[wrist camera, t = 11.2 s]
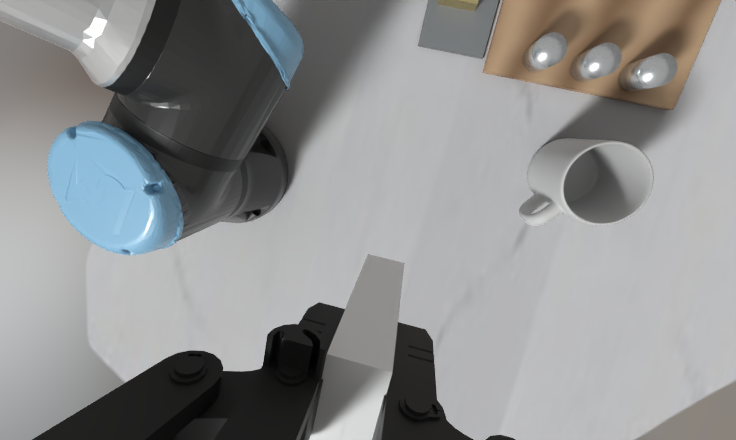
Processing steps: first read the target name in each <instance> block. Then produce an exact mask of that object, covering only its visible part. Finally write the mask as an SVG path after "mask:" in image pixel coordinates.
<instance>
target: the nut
mask: <svg viewBox="0 0 736 440" xmlns="http://www.w3.org/2000/svg"><path fill="white" fill-rule="evenodd" d="M478 1H479V0H438V5H442V6H447V7H453V8H458V9H463V10H469V11H475V9H476V7H477V5H478Z"/></svg>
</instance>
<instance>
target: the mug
mask: <svg viewBox="0 0 736 440" xmlns="http://www.w3.org/2000/svg"><path fill="white" fill-rule="evenodd" d="M653 180H654V176H653V169H652V165H651V163H650V161H649V159H648V158H647V156H646V155H645V154H644V153H643V152H642V151H641V150H640V149H638V148H637V147H635V146H634V145H631V144H629V143H626V142H622V141H615V140H592V139H575V138H564V139H558V140H555V141H552V142H550V143H548V144H546V145H545V146H543V147H542V148H541V149H540V150H538V152H537V153H536V154H535V155H534V156H533V158H532V160H531V162H530V164H529V168H528V183H529V186H530V188H531V190H532V192H533V193H534V194H535V195H534V196H532V197H531V198H530V199H528V200H527V201H526V202H525V203H523V204H522V206H521V207H520V209H519V215H520V217H521V219H522V220H523V221H524V222H525V223H527V224H529V225H531V226H540V225H543V224H546V223H547V222H549V221H551V220H553V219H554V218H556V217H557V216H559V215H560V214H562V213H564V214H566V215H568V216H570V217H573V218H575V219H577V220H579V221H581V222H584V223H587V224H591V225H610V224H615V223H618V222H621V221H623V220H625V219H627V218H629V217H631V216H632V215H633V214H635V213H636V212H637V211H638V210H639V209H640V208H641V207H642V206H643V205H644V204H645V202H646V201H647V199H648V197H649V195H650V193H651V190H652V187H653ZM544 204H548V205H547V206H546V207H545V208H543V209H542V210H540V211H539V212H537V213H534V214H531V213H532V212H533V211H534V210H536V209H537V208H538V207H540V206H542V205H544Z"/></svg>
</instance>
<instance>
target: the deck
mask: <svg viewBox="0 0 736 440" xmlns="http://www.w3.org/2000/svg"><path fill="white" fill-rule="evenodd" d="M720 1H721V0H503V2H502V5H501V9H500V12H499V16H498V19H497V23H496V27H495V30H494V34H493V37H492V41H491V44H490V48H489V52H488V55H487V59H486V62H485V66H484V69H483V73H487V74H492V75H497V76H502V77H507V78H512V79H517V80H522V81H527V82H532V83H537V84H542V85H547V86H552V87H557V88H562V89H567V90H572V91H577V92H581V93H586V94H591V95H596V96H601V97H606V98H611V99H616V100H621V101H626V102H631V103H636V104H641V105H646V106H651V107H656V108H661V109H666V110H672V109H674V107H675V105H676V103H677V101H678V98H679V96H680V94H681V91H682V89H683V87H684V84H685V82H686V80H687V77H688V75H689V73H690V70H691V68H692V66H693V63H694V61H695V59H696V57H697V54H698V52H699V50H700V47H701V45H702V43H703V40H704V38H705V36H706V33H707V31H708V29H709V26H710V24H711V22H712V20H713V17H714V15H715V13H716V10H717V8H718V6H719V3H720ZM552 32H556V33H559V34H561V35H563V36H564V37H565V39H566V41H567V45H568V48H567V52H566V55H565V57H564V58H563V59H562V60H561V61H560V62H559V63H557V64H555V65H553V66H551V67H549V68H547V69H545V70H543V71H541V72H537V73H533V72H530V71H528V70H527V69H526V68H525V67H524V65H523V55H524V53H525V51H526V50H527V48H528V47H530V46H531V45H532V44H533V43H535V42H536V41H537V40H539V39H540V38H541V37H542V36H544V35H546V34H548V33H552ZM603 43H613V44H615V45H617V46H618V47H619V48H620V50H621V53H622V60H621V63H620V65H619V67H618V68H617V69H616V70H615V71H614V72H613V73H611V74H609V75H606V76H603V77H600V78H596V79H593V80H590V81H587V82H578V81H576V80H574V79H573V78H572V76H571V74H570V66H571V63H572V61H573V60H574V58H575V57H576V56H578V55H579V54H581V53H584V52H586V51H588V50H590V49H592V48H594V47H596V46H598V45H600V44H603ZM660 53H667V54H670V55H672V56H673V57H674V58H675V59H676V61H677V66H678V67H677V72H676V75H675V76H674V78H673V79H672V80H671V81H670V82H669V83H667V84H665V85H663V86H660V87H654V88H649V89H644V90H639V91H633V92H628V91H625V90H623V89H622V88H621V87H620V85H619V82H618V77H619V74H620V72H621V70H622V69H623V68H624V67H625V66H626V65H628V64H629V63H632V62H635V61H638V60H641V59H644V58H647V57H650V56H653V55H656V54H660Z"/></svg>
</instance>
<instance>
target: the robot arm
mask: <svg viewBox="0 0 736 440" xmlns="http://www.w3.org/2000/svg"><path fill="white" fill-rule="evenodd" d="M0 21H2V22H4V23H7V24H9V25H11V26H14V27H16V28H18V29H21V30H23V31H25V32H28V33H30V34H32V35H35V36H37V37H39V38H42V39H44V40H46V41H49V42H51V43H53V44H56V45H58V46H60V47H63V48H65V49H67V50H70V51H71V52H72V53H73V54H74V55H75V56H76V57H77V58H78V60H79V61H80V63H81V64H82V66H83V68H84V69H85V71H86V72H87V73H88V75H89V77H90V78H91V80H92V81H93V83H95V84H97V85H99V86H101V87H103V88H106V89H108V90H111V91H114V92H115V93H114V96H113V98H112V100H111V102H110V105H109V107H108V109H107V112H106V114H105V116H104V118H103V120H102V122H98V121H86V122H83V123H81V124H79V125H78V126H74V127H70V128H67V129H65V130H64V131H63V132H61V134H59V135H58V136H57V138H56V139H55V140H54V142H53V144H52V146H51V148H50V152H49V156H48V164H47V167H48V168H47V169H48V178H49V183H50V186H51V189H52V193H53V196H54V198H55V199H56V200H57V202H58V204H59V206H60V209H61V211H62V213H63V214H64V216H65V217H66V218H67V220H68V221H69V222H70V224H71V225H72V226H73V227H74V228H75V229H76V230H77V231H78V232H79V233H80V234H81V235H83V236H84V237H85V238H86V239H88V240H89V241H91V242H92V243H94V244H95V245H97V246H99V247H101V248H103V249H105V250H108V251H110V252H114V253H117V254H123V255H138V254H145V253H148V252H151V251H155V250H158V249H163V248H167V247H169V246H171V245H173V244H174V243H176V242H177V241H179V240H181V239H183V238H185V237H187V236H190V235H192V234H194V233H196V232H198V231H201V230H203V229H205V228H207V227H209V226H211V225H214V224H216V223H218V222H230V223H243V222H248V221H252V220H255V219H257V218H259V217H261V216H263V215H265V214H267V213H268V212H270V211H271V210H272V209H273V208H274V207H275V206H276V205H277V204H278V203H279V201H280V200H281V198H282V196H283V194H284V192H285V189H286V185H287V179H288V167H287V161H286V157H285V154H284V151H283V149H282V147H281V145H280V143H279V141H278V140H277V138H276V137H275V136H274V134H273V133H272V132H271V131H270V130H269V129H268V128H267V127H265V126H264V125H265V124H266V122H267V120H268V118H269V117H270V115H271V113H272V112H273V110H274V108H275V106H276V105H277V103H278V101H279V100H280V98H281V96H282V94H283V93H284V91H285V90H286V91H287V90H288V89H289V88H290V81H291V79H292V77H293V75H294V73H295V71H296V69H297V68H298V66H299V64H300V62H301V60H302V58H303V54H304V45H303V40H302V38H301V35H300V33H299V32H298V30H297V29H296V27H295V26H294V25H293V24H292V22H291V21H290V20H289V19H288V18H287V16H286V15H285V14H284V13H283V12H282V11H281V10H280V9H279V8H278V6H277V5H276V4H275V3H274V2H273V1H272V0H0ZM403 270H404V263H401V262H397V261H393V260H389V259H385V258H381V257H377V256H373V255H369V254H368V256H367V258H366V260H365V263H364V265H363V268H362V270H361V272H360V275H359V277H358V280H357V282H356V285H355V287H354V289H353V292H352V294H351V297H350V299H349V301H348V304H347V306H346V309H342V308H338V307H334V306H331V305H327V304H323V303H317V304H316V305H314V306H312V307H310V308H308V310H307V311H306V313H305V315H304V316H303V318H302V320H301V321H300V323H299V324H298V325H297V324H291V325H283V326H280V327H277V328H275V329H273V330H272V331H271V332H270V333H269V334H268V336H267V342H266V349H265V355H264V362H263V366H262V368H261V369H258V370H254V371H245V372H235V371H223V366H222V363H221V360H220V359H218V358H217V357H216V356H215V355H214V354H211V353H208V352H205V351H186V352H181V353H177V354H175V355H172V356H170V357H168V358H166V359H164V360H162V361H161V362H159V363H157V364H156V365H154V366H153V367H151V368H149V369H148V370H146V371H144V372H143V373H141V374H139V375H138V376H136V377H134V378H133V379H131V380H130V381H128V382H126V383H125V384H123V385H121V386H120V387H118V388H116V389H115V390H113V391H111V392H110V393H109V394H107V395H105V396H103V397H102V398H100V399H98V400H97V401H95V402H93V403H92V404H90V405H88V406H87V407H85V408H84V409H82V410H80V411H79V412H77V413H76V414H74V415H72V416H70V417H69V418H67V419H65V420H64V421H62V422H60V423H59V424H57V425H56V426H54V427H52V428H51V429H49V430H47V431H46V432H44V433H42V434H41V435H39V436H37V437H36V438H34V439H33V440H473V439H471V438H469V437H468V436H466V435H464V434H463V433H461V432H460V431H458V430H457V429H455V428H454V427H453V426H452V425H451V424H450V423H449V422H448V421H447V420H446V416H445V413H444V410H443V407H442V406H441V405H440V403H439V402H438V401H437V396H436V381H435V367H434V354H433V341H432V339H431V337H430V336H429V334H428V333H427V331H426V330H425V329H421V328H417V327H414V326H410V325H406V324H402V323H399V322H398V316H399V307H400V298H401V288H402V279H403ZM486 440H515V439H513V438H510V437H506V436H503V435H496V436H490V437H489V438H487V439H486Z"/></svg>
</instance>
